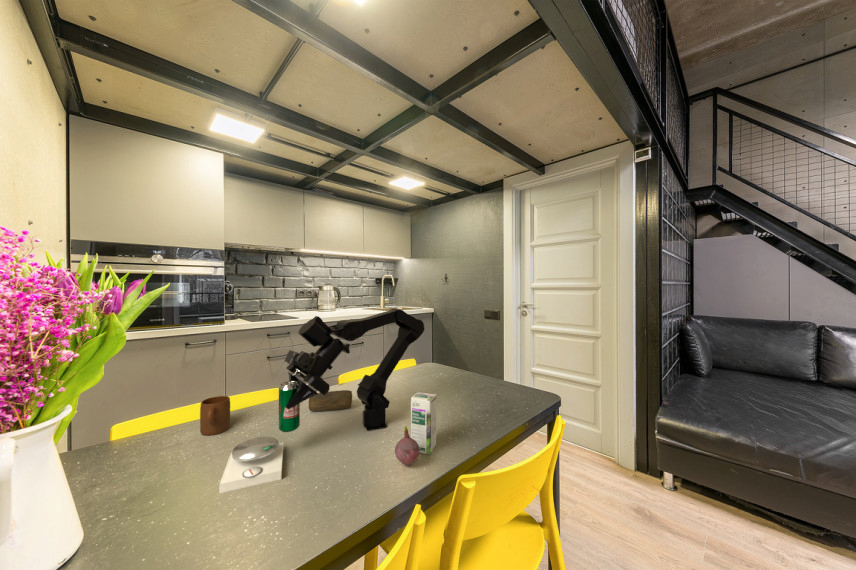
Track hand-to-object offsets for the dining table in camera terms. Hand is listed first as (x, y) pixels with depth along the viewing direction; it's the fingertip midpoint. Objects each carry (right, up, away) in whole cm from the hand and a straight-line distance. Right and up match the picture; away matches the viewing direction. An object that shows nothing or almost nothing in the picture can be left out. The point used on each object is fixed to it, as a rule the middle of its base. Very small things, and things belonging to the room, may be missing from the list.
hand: (283, 405), depth 80 cm
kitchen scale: (-4, -13, -6) cm, 15 cm away
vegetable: (+33, -14, -4) cm, 36 cm away
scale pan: (-5, -11, -4) cm, 13 cm away
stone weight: (+3, -14, +31) cm, 34 cm away
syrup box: (+37, -14, +4) cm, 39 cm away
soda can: (+1, -7, +1) cm, 7 cm away
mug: (-27, -14, +12) cm, 33 cm away
